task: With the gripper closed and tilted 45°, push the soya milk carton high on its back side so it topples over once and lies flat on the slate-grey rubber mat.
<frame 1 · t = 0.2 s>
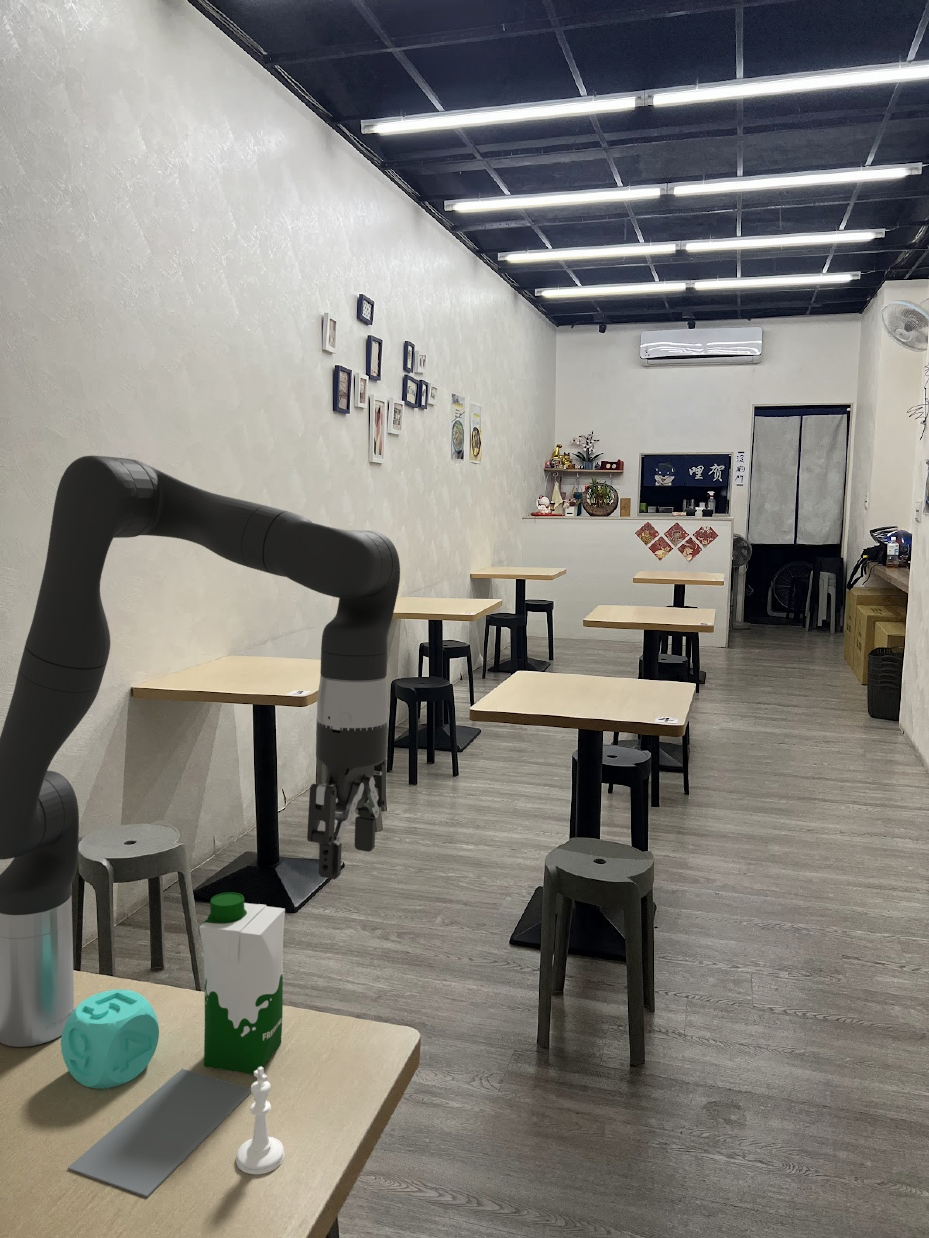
hand: (347, 862, 98), 29 cm above the table, tool pointing down, fingers open, 8 cm apart
soya milk: (243, 1056, 112), on the table
decorative dice: (111, 1070, 108), on the table
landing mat: (166, 1127, 98), on the table
chess piece: (260, 1159, 94), on the table
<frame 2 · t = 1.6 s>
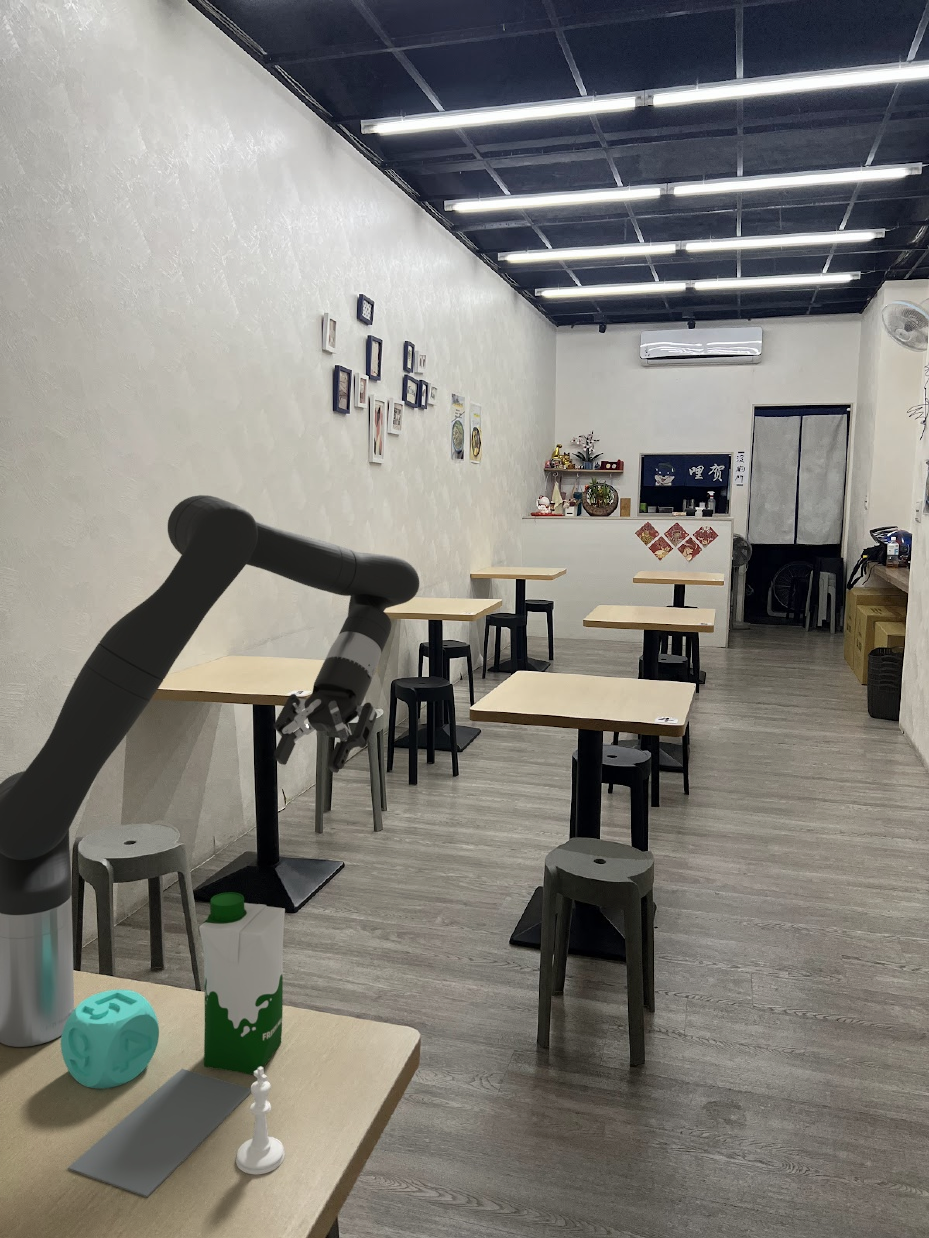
hand: (305, 765, 124), 33 cm above the table, tool tilted 45°, fingers open, 8 cm apart
nothing on the table moved.
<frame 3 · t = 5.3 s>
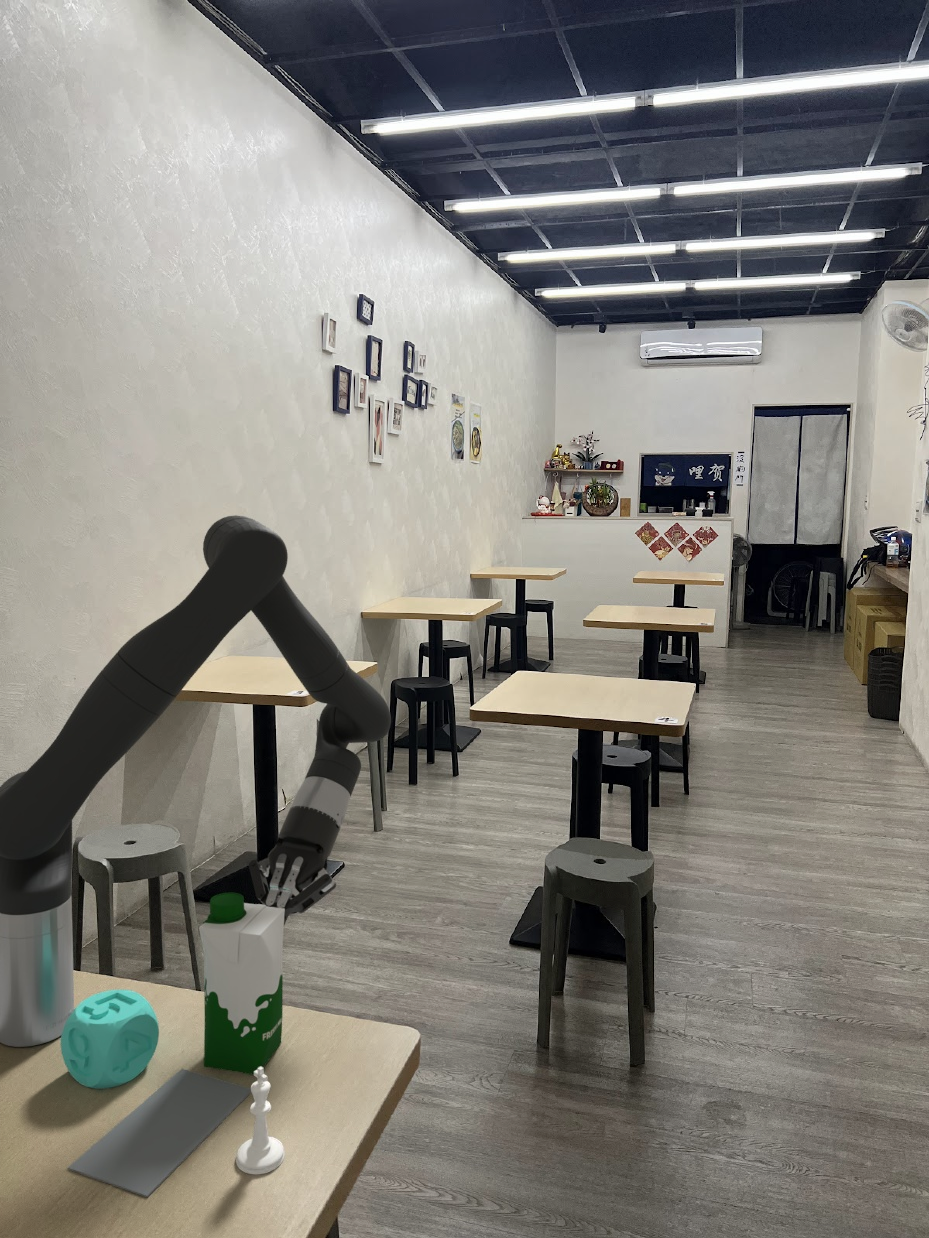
hand: (265, 938, 115), 13 cm above the table, tool tilted 45°, fingers closed
soya milk: (243, 1056, 112), on the table, touching gripper
everything else where it was.
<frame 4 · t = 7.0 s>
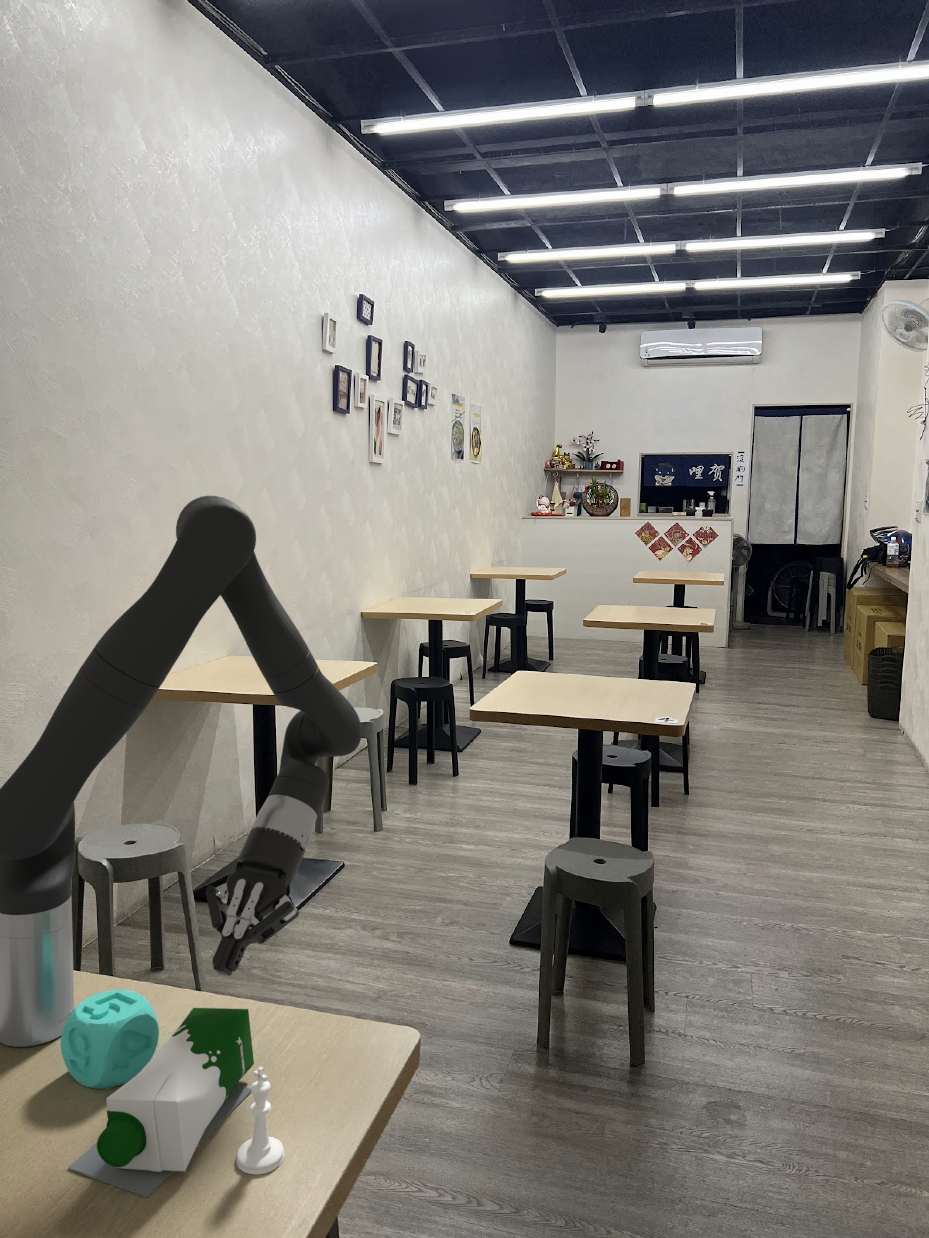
hand: (221, 972, 106), 13 cm above the table, tool tilted 45°, fingers closed
soya milk: (225, 1034, 108), point 5 cm above the table, touching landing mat
everything else where it was.
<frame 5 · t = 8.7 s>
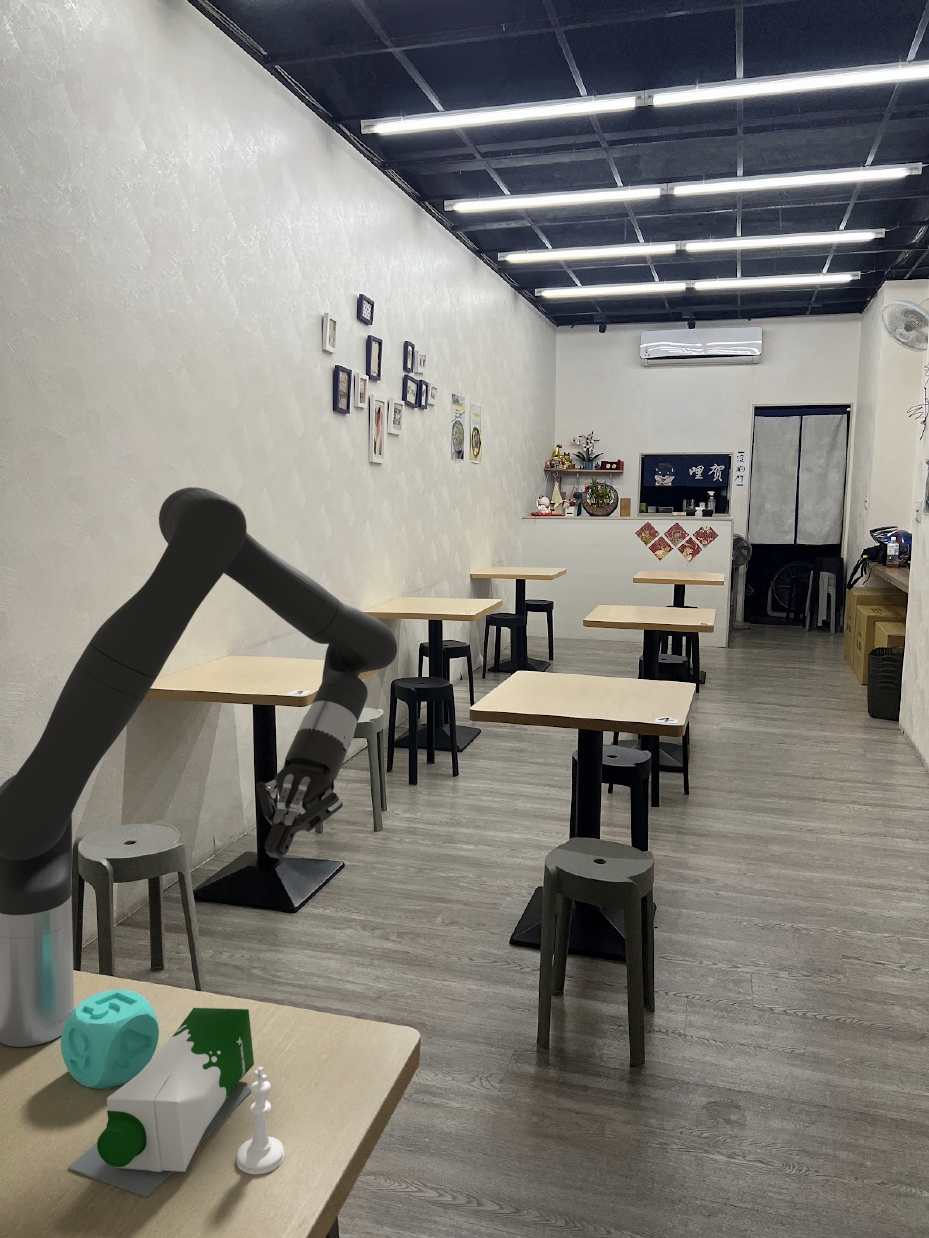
hand: (273, 855, 116), 23 cm above the table, tool tilted 45°, fingers closed
nothing on the table moved.
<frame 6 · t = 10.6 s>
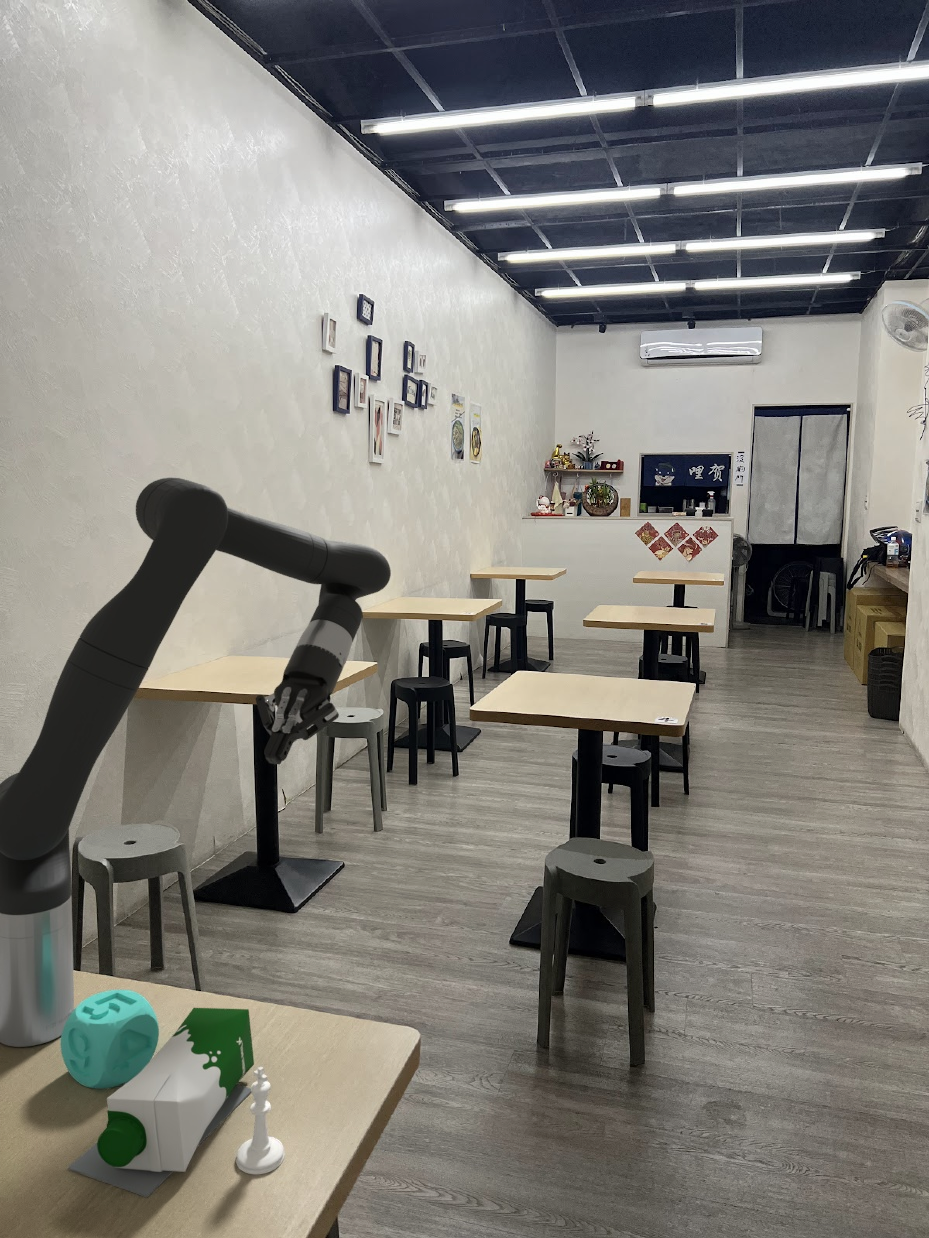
hand: (272, 760, 121), 34 cm above the table, tool tilted 45°, fingers closed
nothing on the table moved.
at the end: soya milk tilted 90°; soya milk inside the target area (4.0 cm from its centre), point 4.5 cm above the table; the gripper is holding nothing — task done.
